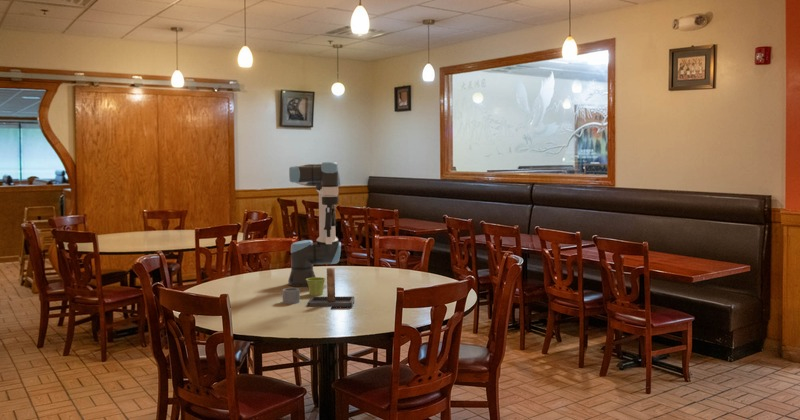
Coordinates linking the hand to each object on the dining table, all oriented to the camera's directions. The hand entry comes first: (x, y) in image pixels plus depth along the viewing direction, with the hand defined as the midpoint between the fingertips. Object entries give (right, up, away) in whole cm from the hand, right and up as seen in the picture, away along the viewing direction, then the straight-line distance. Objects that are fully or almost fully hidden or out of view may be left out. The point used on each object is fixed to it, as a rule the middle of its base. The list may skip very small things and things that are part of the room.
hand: (330, 242), depth 311 cm
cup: (-19, -29, +4) cm, 35 cm away
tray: (0, -29, +1) cm, 29 cm away
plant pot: (-9, -28, +21) cm, 36 cm away
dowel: (0, -28, +1) cm, 28 cm away
